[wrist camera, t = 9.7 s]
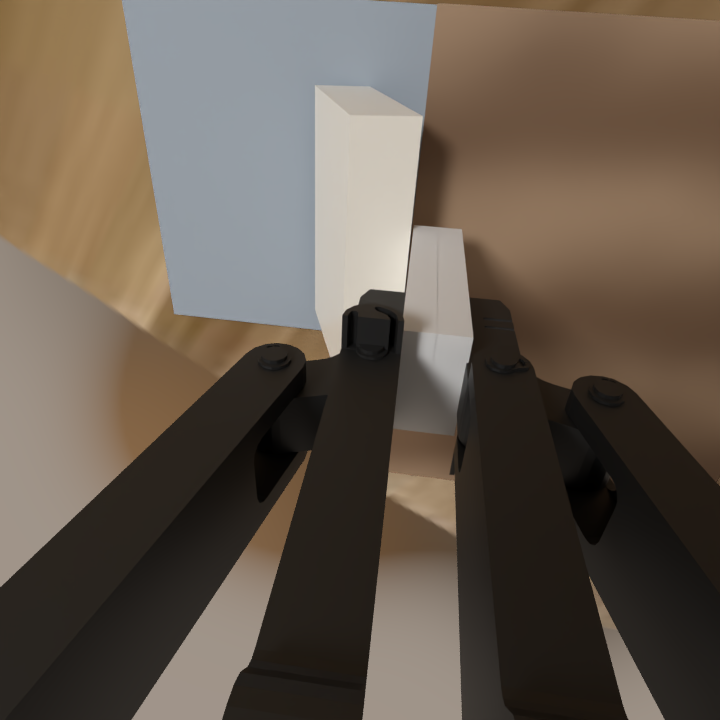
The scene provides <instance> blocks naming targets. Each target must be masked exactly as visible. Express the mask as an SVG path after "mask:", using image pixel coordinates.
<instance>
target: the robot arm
mask: <svg viewBox="0 0 720 720" xmlns="http://www.w3.org/2000/svg"><path fill="white" fill-rule="evenodd" d="M456 424H457V438H456V443H455V448H454V453H453V458H452V463H451V468H450V473H449V475H454V474H455V501H456V534H457V562H458V563H457V567H458V598H459V629H460V630H459V632H460V665H461V695H462V696H461V698H462V720H628V718H627V716H626V713H625V710H624V707H623V704H622V700H621V697H620V693H619V689H618V685H617V681H616V677H615V674H614V670H613V666H612V662H611V658H610V655H609V651H608V648H607V644H606V640H605V636H604V632H603V628H602V624H601V620H600V617H599V613H598V609H597V605H596V601H595V598H594V594H593V590H592V586H591V582H590V579H589V576H590V578H591V580H592V582H593V584H594V586H595V588H596V589H597V591H598V593H599V595H600V597H601V599H602V601H603V603H604V605H605V607H606V608H607V610H608V612H609V614H610V616H611V618H612V620H613V622H614V624H615V626H616V628H617V629H618V631H619V633H620V635H621V637H622V639H623V641H624V643H625V645H626V646H627V648H628V650H629V652H630V654H631V656H632V658H633V660H634V662H635V664H636V666H637V667H638V669H639V671H640V673H641V675H642V677H643V679H644V681H645V683H646V684H647V687H648V688H649V690H650V692H651V694H652V696H653V698H654V700H655V702H656V703H657V706H658V707H659V709H660V711H661V713H662V715H663V717H664V719H665V720H720V486H719V485H718V484H717V483H716V482H715V481H714V479H713V478H712V477H711V476H710V475H709V474H708V473H707V472H706V470H705V469H704V468H703V467H702V466H701V465H700V464H699V463H698V462H697V460H696V459H695V458H694V457H693V456H692V455H691V454H690V453H689V451H688V450H687V449H686V448H685V447H684V446H683V445H682V444H681V443H680V441H679V440H678V439H677V438H676V437H675V436H674V435H673V434H672V432H671V431H670V430H669V429H668V428H667V427H666V426H665V425H664V423H663V422H662V421H661V420H660V419H659V418H658V417H657V416H656V415H655V413H654V412H653V411H652V410H651V409H650V408H649V407H648V406H647V404H646V403H645V402H644V401H643V400H642V399H641V398H640V397H639V395H638V394H637V393H635V392H634V391H633V390H632V389H631V388H629V387H628V386H627V385H625V384H623V383H621V382H619V381H617V380H615V379H612V378H608V377H604V376H592V375H590V376H584V377H580V378H578V379H577V380H575V381H574V382H573V385H572V388H571V389H568V388H564V387H561V386H558V385H554V384H551V383H549V382H546V381H543V380H542V379H540V378H538V377H536V373H535V370H534V367H533V365H532V364H531V362H530V361H529V360H528V359H526V358H525V357H524V356H522V355H520V350H519V346H518V342H517V338H516V334H515V331H514V325H513V322H512V317H511V313H510V310H509V309H508V308H507V307H506V306H505V305H504V304H503V303H502V302H501V301H500V300H491V299H481V298H471V297H469V291H468V282H467V272H466V263H465V253H464V244H463V235H462V229H454V228H442V227H431V226H419V225H414V229H413V237H412V246H411V254H410V263H409V271H408V279H407V288H406V293H405V292H395V291H385V290H375V289H370V290H368V291H367V292H366V293H365V294H363V295H362V296H361V297H360V300H359V304H358V305H355V306H353V307H351V308H349V309H347V310H346V311H345V312H344V313H343V315H342V338H341V350H340V353H339V354H337V355H335V356H333V357H330V358H327V359H321V360H312V361H306V359H305V355H304V353H303V352H302V351H301V350H299V349H298V348H296V347H293V346H291V345H287V344H280V343H274V344H272V343H271V344H265V345H262V346H259V347H255V348H254V349H252V350H251V351H249V352H248V353H246V354H245V355H244V356H243V357H242V358H241V359H240V360H239V361H238V362H237V363H236V364H235V365H234V366H233V367H232V368H231V369H230V370H229V371H228V372H226V373H225V374H224V375H223V376H222V377H221V378H220V379H219V380H218V381H217V382H216V383H215V384H214V385H213V386H212V387H211V388H210V389H209V390H208V391H206V393H204V394H203V395H202V396H201V397H200V398H199V399H198V400H197V401H196V402H195V403H194V404H193V405H192V406H191V407H190V408H189V409H188V410H186V411H185V412H184V413H183V414H182V415H181V416H180V417H179V418H178V419H177V420H176V421H175V422H174V423H173V424H172V425H171V426H170V427H169V428H168V429H166V430H165V431H164V432H163V433H162V434H161V435H160V436H159V437H158V438H157V439H156V440H155V441H154V442H153V443H152V444H151V445H150V446H149V447H148V448H147V449H146V450H144V451H143V452H142V453H141V454H140V455H139V456H138V457H137V458H136V459H135V460H134V461H133V462H132V463H131V464H130V465H129V466H128V467H127V468H125V469H124V470H123V471H122V472H121V473H120V474H119V475H118V476H117V477H116V478H115V479H114V480H113V481H112V482H111V483H110V484H109V485H108V486H107V487H105V488H104V489H103V490H102V491H101V492H100V493H99V494H98V495H97V496H96V497H95V498H94V499H93V500H92V501H91V502H90V503H89V504H88V505H87V506H85V508H83V510H81V512H79V513H78V514H77V515H76V516H75V517H74V518H73V519H72V520H71V521H70V522H69V523H68V524H67V525H66V526H65V527H63V528H62V529H61V530H60V531H59V532H58V533H57V534H56V535H55V536H54V537H53V538H52V539H51V540H50V541H49V542H48V543H47V544H46V545H45V546H44V547H42V548H41V549H40V550H39V551H38V552H37V553H36V554H35V555H34V556H33V557H32V558H31V559H30V560H29V561H28V562H27V563H26V564H24V566H22V567H21V568H20V569H19V570H18V571H17V572H16V573H15V574H14V575H13V576H12V577H11V578H10V579H9V580H8V581H7V582H6V583H5V584H3V585H2V587H0V720H131V719H132V718H133V716H134V715H135V713H136V712H137V710H138V709H139V707H140V706H141V704H142V703H143V701H144V700H145V698H146V697H147V695H148V694H149V692H150V691H151V689H152V688H153V686H154V685H155V683H156V682H157V680H158V679H159V677H160V676H161V674H162V673H163V671H164V670H165V668H166V667H167V665H168V664H169V662H170V661H171V659H172V658H173V656H174V655H175V653H176V652H177V650H178V649H179V647H180V646H181V644H182V643H183V641H184V640H185V638H186V637H187V635H188V634H189V632H190V631H191V629H192V628H193V626H194V625H195V623H196V622H197V620H198V619H199V617H200V616H201V614H202V613H203V611H204V610H205V608H206V607H207V605H208V604H209V602H210V601H211V599H212V598H213V596H214V595H215V593H216V592H217V590H218V589H219V587H220V586H221V584H222V583H223V581H224V580H225V578H226V577H227V575H228V574H229V572H230V571H231V569H232V568H233V566H234V565H235V563H236V562H237V560H238V559H239V557H240V556H241V554H242V552H243V551H244V549H245V548H246V547H247V545H248V543H249V542H250V541H251V539H252V538H253V536H254V535H255V533H256V531H257V530H258V528H259V527H260V525H261V524H262V522H263V521H264V520H265V518H266V516H267V515H268V513H269V512H270V510H271V509H272V507H273V506H274V504H275V503H276V501H277V500H278V498H279V497H280V495H281V494H282V492H283V491H284V489H285V488H286V486H287V485H288V483H289V482H290V480H291V479H292V477H293V476H294V474H295V473H296V471H297V470H298V468H299V467H300V465H301V464H302V462H303V461H304V459H305V457H306V454H307V451H308V450H312V452H311V455H310V458H309V462H308V465H307V469H306V472H305V476H304V480H303V483H302V487H301V490H300V494H299V497H298V500H297V504H296V508H295V511H294V514H293V518H292V521H291V525H290V528H289V532H288V536H287V539H286V543H285V546H284V550H283V553H282V556H281V560H280V563H279V567H278V570H277V574H276V577H275V581H274V584H273V588H272V591H271V595H270V598H269V602H268V605H267V609H266V612H265V616H264V619H263V623H262V626H261V629H260V633H259V637H258V640H257V644H256V647H255V650H254V653H253V656H252V659H251V662H250V663H249V665H248V667H247V668H245V669H244V670H242V671H241V672H240V674H239V676H238V677H237V680H236V681H235V683H234V686H233V689H232V691H231V694H230V697H229V700H228V703H227V706H226V709H225V712H224V715H223V719H222V720H362V717H363V708H364V698H365V689H366V679H367V669H368V659H369V650H370V641H371V631H372V622H373V613H374V604H375V594H376V585H377V575H378V566H379V556H380V547H381V538H382V528H383V519H384V509H385V500H386V490H387V481H388V472H389V462H390V453H391V443H392V434H393V429H400V430H408V431H417V432H425V433H434V434H442V435H451V436H454V434H455V429H456ZM610 477H611V478H612V480H613V482H614V483H613V482H612V480H611V479H610ZM588 574H589V575H588Z"/></svg>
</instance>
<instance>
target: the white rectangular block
mask: <svg viewBox="0 0 720 720" xmlns="http://www.w3.org/2000/svg"><path fill="white" fill-rule="evenodd" d="M422 121H423V116H422V115H420V114H418V113H416V112H415V111H413V110H411V109H409V108H407V107H406V106H404V105H402V104H400V103H399V102H397V101H395V100H393V99H391V98H390V97H388V96H386V95H384V94H383V93H381V92H379V91H377V90H375V89H374V88H372V87H370V86H334V85H315V311H316V314H317V317H318V320H319V323H320V327H321V330H322V333H323V336H324V339H325V342H326V345H327V348H328V352H329V355H330V357H333V356H335V355H337V354H339V353H340V350H341V338H342V315H343V313H344V312H345V311H346V310H347V309H349V308H351V307H353V306H355V305H358V304H359V300H360V297H361V296H362V295H363V294H365V293H366V292H367V291H368V290H370V289H375V290H385V291H395V292H405V282H406V273H407V263H408V254H409V244H410V235H411V225H412V216H413V206H414V197H415V187H416V178H417V168H418V159H419V149H420V140H421V130H422Z"/></svg>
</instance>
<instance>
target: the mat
mask: <svg viewBox="0 0 720 720" xmlns="http://www.w3.org/2000/svg"><path fill="white" fill-rule="evenodd" d="M122 3H123V9H124V15H125V21H126V27H127V33H128V39H129V45H130V51H131V57H132V63H133V69H134V75H135V81H136V87H137V93H138V99H139V105H140V111H141V117H142V123H143V129H144V135H145V141H146V147H147V153H148V159H149V165H150V171H151V177H152V183H153V189H154V195H155V201H156V207H157V213H158V219H159V225H160V231H161V237H162V243H163V249H164V255H165V261H166V267H167V273H168V279H169V285H170V291H171V297H172V303H173V309H174V314H180V315H189V316H198V317H207V318H216V319H225V320H234V321H243V322H252V323H261V324H270V325H279V326H288V327H297V328H306V329H315V330H321V327H320V323H319V320H318V317H317V314H316V311H315V85H334V86H370V87H372V88H374V89H375V90H377V91H379V92H381V93H383V94H384V95H386V96H388V97H390V98H391V99H393V100H395V101H397V102H399V103H400V104H402V105H404V106H406V107H407V108H409V109H411V110H413V111H415V112H416V113H418V114H420V115H422V116H423V121H422V130H421V140H420V149H419V159H418V168H417V178H416V187H415V197H414V206H413V216H414V207H415V198H416V189H417V180H418V171H419V162H420V153H421V144H422V135H423V126H424V117H425V109H426V100H427V91H428V82H429V73H430V64H431V55H432V46H433V37H434V28H435V19H436V10H437V5H434V4H418V3H402V2H386V1H370V0H122ZM413 216H412V224H413ZM411 233H412V225H411ZM410 242H411V235H410ZM409 251H410V244H409ZM408 260H409V254H408ZM407 269H408V263H407ZM406 278H407V273H406ZM405 287H406V282H405Z"/></svg>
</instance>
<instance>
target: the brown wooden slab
mask: <svg viewBox="0 0 720 720" xmlns="http://www.w3.org/2000/svg"><path fill="white" fill-rule="evenodd" d="M414 225H419V226H431V227H442V228H454V229H462V235H463V244H464V253H465V263H466V272H467V282H468V291H469V297H471V298H481V299H491V300H500V301H501V302H502V303H503V304H504V305H505V306H506V307H507V308H508V309H509V310H510V313H511V317H512V322H513V325H514V331H515V334H516V338H517V342H518V346H519V350H520V355H522V356H524V357H525V358H526V359H528V360H529V361H530V362H531V364H532V365H533V367H534V370H535V373H536V377H538V378H540V379H542V380H543V381H546V382H549V383H551V384H554V385H558V386H561V387H564V388H568V389H571V388H572V385H573V382H574V381H575V380H577V379H578V378H580V377H584V376H590V375H592V376H604V377H608V378H612V379H615V380H617V381H619V382H621V383H623V384H625V385H627V386H628V387H629V388H631V389H632V390H633V391H634V392H635V393H637V394H638V395H639V397H640V398H641V399H642V400H643V401H644V402H645V403H646V404H647V406H648V407H649V408H650V409H651V410H652V411H653V412H654V413H655V415H656V416H657V417H658V418H659V419H660V420H661V421H662V422H663V423H664V425H665V426H666V427H667V428H668V429H669V430H670V431H671V432H672V434H673V435H674V436H675V437H676V438H677V439H678V440H679V441H680V443H681V444H682V445H683V446H684V447H685V448H686V449H687V450H688V451H689V453H690V454H691V455H692V456H693V457H694V458H695V459H696V460H697V462H698V463H699V464H700V465H701V466H702V467H703V468H704V469H705V470H706V472H707V473H708V474H709V475H710V476H711V477H712V478H713V479H714V481H715V482H717V481H718V479H719V477H720V21H715V20H699V19H683V18H667V17H651V16H635V15H619V14H603V13H587V12H571V11H555V10H539V9H523V8H507V7H491V6H475V5H459V4H443V3H437V10H436V19H435V28H434V37H433V46H432V55H431V64H430V73H429V82H428V91H427V100H426V109H425V117H424V126H423V135H422V144H421V153H420V162H419V171H418V180H417V189H416V198H415V207H414V216H413V224H412V233H411V242H410V251H409V260H408V269H407V278H406V287H405V293H406V288H407V279H408V271H409V263H410V254H411V246H412V237H413V229H414ZM456 438H457V424H456V429H455V434H454V436H451V435H442V434H434V433H425V432H417V431H408V430H400V429H393V434H392V443H391V453H390V462H389V472H392V473H400V474H408V475H415V476H423V477H431V478H438V479H446V480H454V481H455V474H454V475H449V473H450V468H451V463H452V458H453V453H454V448H455V443H456ZM610 479H611V480H612V478H611V477H610ZM612 482H613V480H612ZM613 483H614V482H613Z"/></svg>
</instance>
